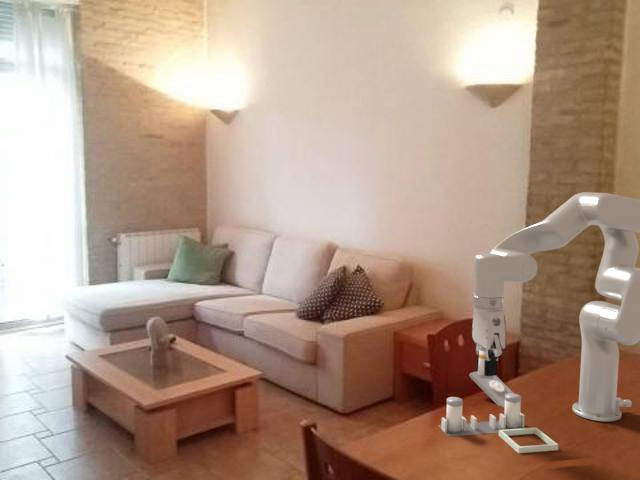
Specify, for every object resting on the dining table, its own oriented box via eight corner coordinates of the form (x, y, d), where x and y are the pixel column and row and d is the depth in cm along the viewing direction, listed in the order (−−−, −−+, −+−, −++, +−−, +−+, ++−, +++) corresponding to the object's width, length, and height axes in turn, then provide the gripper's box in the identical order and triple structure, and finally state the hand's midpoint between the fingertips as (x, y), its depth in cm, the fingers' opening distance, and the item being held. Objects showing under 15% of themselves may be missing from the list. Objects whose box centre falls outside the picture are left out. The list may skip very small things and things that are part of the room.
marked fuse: (489, 373, 164) (491, 343, 163) (496, 378, 160) (498, 347, 159) (474, 373, 163) (476, 343, 162) (481, 379, 159) (483, 348, 158)
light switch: (506, 406, 176) (471, 370, 186) (497, 421, 179) (463, 385, 189) (525, 400, 181) (489, 365, 191) (515, 414, 184) (481, 379, 194)
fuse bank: (515, 423, 169) (517, 390, 168) (528, 434, 162) (530, 400, 161) (437, 429, 165) (438, 395, 163) (447, 440, 158) (448, 405, 157)
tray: (535, 436, 161) (536, 427, 160) (557, 454, 151) (558, 444, 150) (498, 439, 159) (498, 430, 158) (518, 457, 149) (518, 447, 148)
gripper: (518, 308, 152) (515, 382, 154) (487, 294, 168) (485, 361, 170) (488, 310, 150) (487, 384, 153) (460, 296, 167) (459, 363, 169)
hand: (486, 371), depth 161 cm, fingers closed on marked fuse, 3 cm apart
